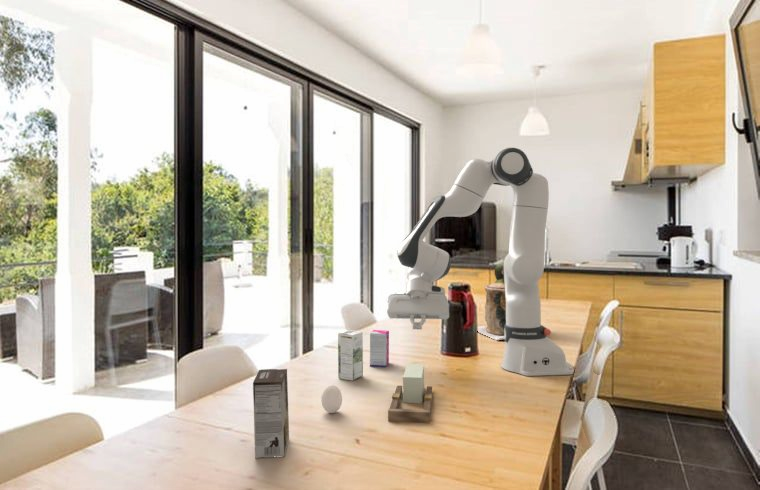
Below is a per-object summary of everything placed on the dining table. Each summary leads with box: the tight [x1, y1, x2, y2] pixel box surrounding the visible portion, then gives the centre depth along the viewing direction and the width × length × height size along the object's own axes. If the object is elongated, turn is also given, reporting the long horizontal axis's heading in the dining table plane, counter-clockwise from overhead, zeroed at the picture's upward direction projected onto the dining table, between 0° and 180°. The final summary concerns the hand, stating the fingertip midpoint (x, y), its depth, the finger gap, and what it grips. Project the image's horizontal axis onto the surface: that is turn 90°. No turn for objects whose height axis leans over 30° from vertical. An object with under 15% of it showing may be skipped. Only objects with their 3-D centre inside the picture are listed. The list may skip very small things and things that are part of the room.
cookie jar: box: [477, 262, 506, 341], centre depth 211 cm, size 25×25×32 cm
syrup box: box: [337, 329, 364, 382], centre depth 153 cm, size 6×6×14 cm
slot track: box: [387, 385, 433, 424], centre depth 128 cm, size 10×20×3 cm, turn 172°
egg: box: [320, 383, 343, 414], centre depth 124 cm, size 5×5×7 cm
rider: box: [402, 364, 425, 404], centre depth 136 cm, size 5×12×7 cm, turn 172°
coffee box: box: [252, 368, 290, 459], centre depth 105 cm, size 9×6×16 cm
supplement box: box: [369, 329, 390, 368], centre depth 167 cm, size 6×6×12 cm
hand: (417, 328), depth 155 cm, fingers closed
